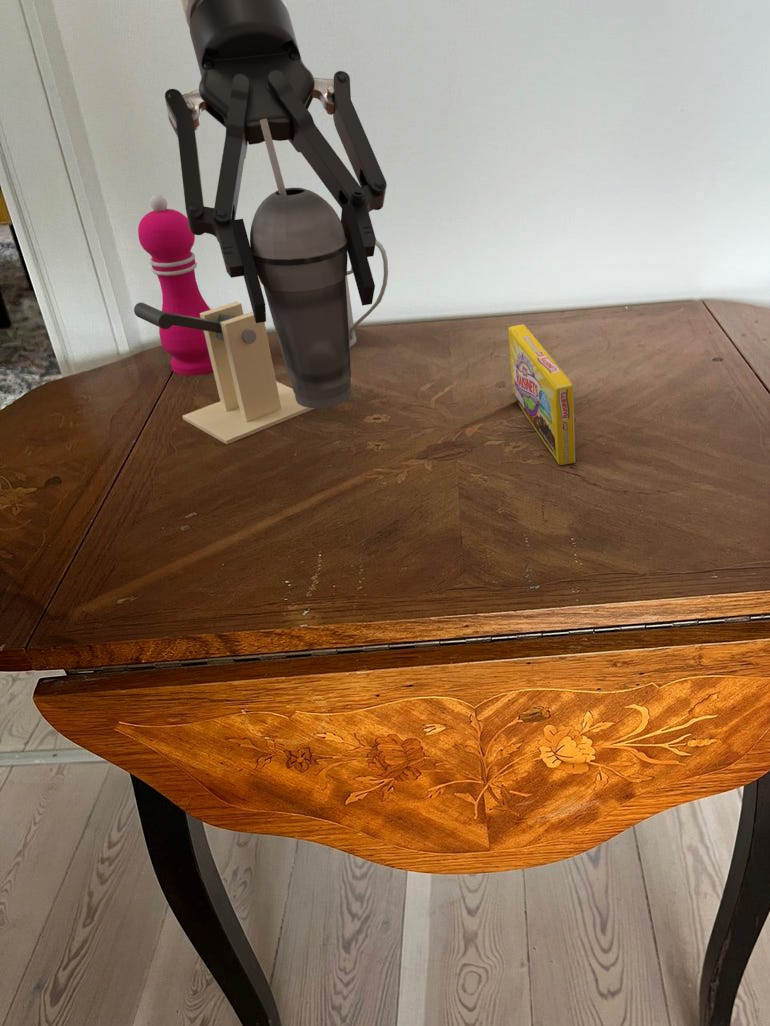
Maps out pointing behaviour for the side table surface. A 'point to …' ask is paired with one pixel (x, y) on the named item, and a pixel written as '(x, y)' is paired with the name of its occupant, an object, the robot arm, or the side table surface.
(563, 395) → the candy box
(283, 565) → the side table surface
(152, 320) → the wooden stand lever
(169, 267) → the pepper mill
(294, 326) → the beverage cup
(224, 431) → the lever mount
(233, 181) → the robot arm
